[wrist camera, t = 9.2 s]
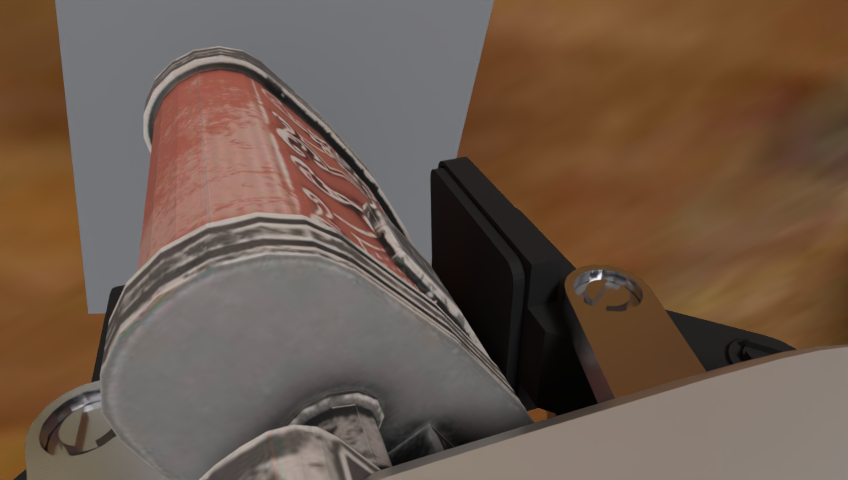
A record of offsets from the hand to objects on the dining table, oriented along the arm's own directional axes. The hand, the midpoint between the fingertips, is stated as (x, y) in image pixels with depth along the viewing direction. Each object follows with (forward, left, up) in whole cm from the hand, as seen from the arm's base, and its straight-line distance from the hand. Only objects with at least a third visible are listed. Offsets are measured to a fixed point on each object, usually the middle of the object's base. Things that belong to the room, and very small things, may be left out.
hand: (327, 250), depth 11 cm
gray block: (0, 0, -11) cm, 11 cm away
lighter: (0, 0, -2) cm, 2 cm away
